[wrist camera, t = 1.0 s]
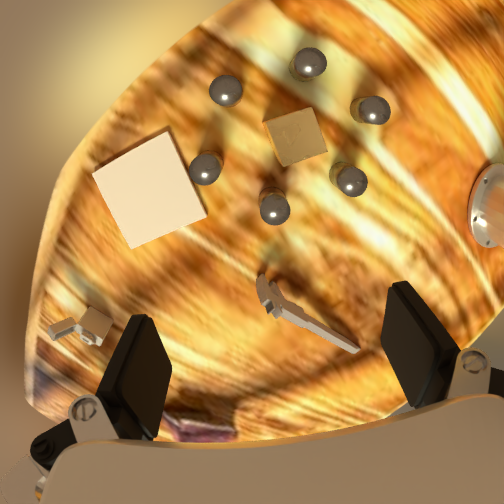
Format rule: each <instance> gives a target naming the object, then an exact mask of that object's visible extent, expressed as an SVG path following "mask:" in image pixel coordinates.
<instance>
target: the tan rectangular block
mask: <svg viewBox="0 0 504 504" xmlns="http://www.w3.org/2000/svg"><path fill="white" fill-rule="evenodd" d="M262 123H263V126H264V128H265V131H266V133H267V136H268V138H269V141H270V143H271V146H272V148H273V151H274V153H275V156H276V158H277V160H278V161H279V162H280V163H281V165H282V166H283V167H285V166H288V165H291V164H293V163H296V162H299V161H302V160H305V159H308V158H311V157H313V156H316V155H319V154H322V153H325V152H328V151H327V148H326V145H325V142H324V139H323V136H322V133H321V130H320V128H319V125H318V122H317V119H316V117H315V114H314V111H313V109H312V107H309V108H304V109H299V110H296V111H293V112H290V113H287V114H284V115H281V116H278V117H275V118H273V119H270V120H267V121H264V122H262Z"/></svg>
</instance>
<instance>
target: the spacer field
mask: <svg viewBox="0 0 504 504" xmlns="http://www.w3.org/2000/svg"><path fill="white" fill-rule="evenodd" d="M326 66H327V60H326V57H325V56H324V54H323V53H322V52H321V51H319V50H318V49H315V48H304V49H302V50H300V51H299V52H298V54H297V55H296V56H295V57H294V59H293V60H292V61H291V63H290V67H289V69H290V73H291V75H292V76H293V77H294V78H295V79H297V80H299V81H309V80H311V79H313V78H315V77H316V76H318V75H320V74H321V73H323V72H324V71H325V69H326ZM209 94H210V97H211V98H212V100H213V101H214V102H216V103H217V104H219V105H221V106H223V107H233V106H235V105H237V104H238V103H239V102H240V101H241V99H242V95H243V93H242V87H241V84H240V82H239V81H238V80H237V79H236V78H235V77H233V76H230V75H222V76H219V77H217V78H216V79H214V80H213V81H212V83H211V85H210V88H209ZM350 113H351V116H352V117H353V119H354V120H355V121H357V122H359V123H365V124H377V125H381V124H384V123H386V122H387V121H388V119H389V118H390V113H391V110H390V106H389V104H388V102H387V101H386V100H385V99H384V98H382V97H379V96H371V97H364V98H358V99H355V100H354V101H353V102H352V103H351V106H350ZM222 169H223V159H222V157H221V156H220V154H218V153H217V152H215V151H205V152H203V153H202V154H200V155H199V156H197V157H196V158H195V159H194V160H193V161H192V162H191V164H190V167H189V174H190V177H191V178H192V180H193V181H194V182H195V183H197V184H199V185H210V184H212V183H214V182H215V181H216V180H217V178H218V177H219V175H220V173H221V171H222ZM329 177H330V181H331V182H332V184H333V185H335V186H336V187H337V188H338V189H340V190H341V191H342V192H343V193H345V194H346V195H347V196H350V197H357V196H360V195H361V194H363V193H364V191H365V190H366V188H367V184H368V181H367V177H366V175H365V173H364V172H363V171H361V170H360V169H358V168H356V167H354V166H352V165H349V164H347V163H345V162H339V163H336V164H335V165H333V166H332V168H331V169H330V173H329ZM259 207H260V214H261V217H262V219H263V220H264V221H265V222H266V223H268V224H270V225H280V224H282V223H284V222H285V221H286V220H287V219H288V218H289V215H290V206H289V204H288V202H287V200H286V197H285V195H284V193H283V192H282V191H281V190H280V189H278V188H276V187H268V188H266V189H264V190H263V191H262V192H261V193H260V195H259Z"/></svg>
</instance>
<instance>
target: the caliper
mask: <svg viewBox="0 0 504 504" xmlns="http://www.w3.org/2000/svg"><path fill="white" fill-rule="evenodd" d="M256 287H257V294H258V296H259V299H260V302H261V305H263V306H265V307H266V310H267V313H268V314H270V313H271V312H272V314H273V316H274V317H275V318H276V319H277V318H278V317H279V316H281V317H283V318H285V319H287V320H289V321H290V322H292V323H294V324H296V325H298V326H300V327H301V328H303V327H305V328H307V329H308V330H310V331H312V332H314V333H316V334H317V335H319V336H321V337H323V338H325V339H326V340H328V341H330V342H332V343H334V344H335V345H337V346H339V347H341V348H343V349H345V350H347V351H348V352H350V353H352V354H354V353H356V352H358V351H359V350H360V348H359V347H358V346H356V345H355V344H354V343H353V342H351V341H350V340H349V339H347V338H345V337H344V336H342V335H340V334H339V333H337V332H335V331H334V330H332V329H330V328H329V327H327V326H325V325H324V324H322V323H320V322H319V321H317V320H315V319H314V318H312V317H311V316H309V315H307V314H306V313H304V311H303V309H302V308H301V307H299V306H297V305H296V304H295V303H293V302H290V301H287V300H286V299H285V298H284V296H283V295H282V293H281V291H280V290H279V288H278V286H277V284H276V283H275V282H274V281H272V282H270V283H269V284H268V282H267V280H266V277H265V274H261V275H260V276H259V277H258V278H257V279H256Z"/></svg>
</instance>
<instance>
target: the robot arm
mask: <svg viewBox="0 0 504 504" xmlns="http://www.w3.org/2000/svg"><path fill="white" fill-rule="evenodd" d="M468 225H469V229H470V232H471V235H472V236H473V238H474V240H475V241H476V242H477V243H479V244H480V245H482V246H484V247H487V248H492V247H495V246H497V245H500V246H501V247H502V248H504V164H501V163H495V164H492V165H490V166H488V167H487V168H485V169H484V171H483V172H482V173H481V174H480V175H479V177H478V178H477V180H476V182H475V184H474V186H473V189H472V192H471V195H470V199H469V204H468ZM381 345H382V347H383V349H384V351H385V353H386V355H387V357H388V359H389V361H390V364H391V366H392V368H393V370H394V372H395V374H396V376H397V378H398V380H399V383H400V385H401V387H402V389H403V391H404V393H405V396H406V398H407V400H408V402H409V404H410V406H411V407H413V406H414V407H415V410H412V411H409V412H406V413H402V414H399V415H395V416H392V417H389V418H385V419H381V420H377V421H374V422H370V423H366V424H362V425H357V426H353V427H348V428H344V429H339V430H333V431H328V432H323V433H317V434H311V435H304V436H297V437H289V438H281V439H272V440H261V441H247V442H226V443H183V442H159V441H153V438H156V437H157V435H158V431H159V426H160V421H161V417H162V412H163V408H164V403H165V399H166V395H167V390H168V386H169V382H170V378H171V374H172V365H171V362H170V360H169V358H168V355H167V353H166V351H165V348H164V346H163V344H162V341H161V339H160V337H159V334H158V332H157V329H156V327H155V324H154V322H153V320H152V318H151V317H148V316H147V315H146V314H138V315H132V316H131V318H130V320H129V322H128V324H127V326H126V328H125V330H124V332H123V334H122V336H121V338H120V340H119V343H118V345H117V347H116V349H115V351H114V353H113V355H112V358H111V360H110V362H109V364H108V366H107V369H106V371H105V373H104V375H103V378H102V380H101V382H100V385H99V387H98V389H97V392H96V394H95V396H94V395H90V394H88V395H83V396H80V397H78V398H77V399H75V400H74V401H73V402H72V403H71V405H70V407H69V410H68V416H69V419H67V420H65V421H64V422H62V423H60V424H58V425H57V426H55V427H53V428H51V429H50V430H48V431H46V432H44V433H42V434H41V435H39V436H37V437H36V438H35V439H34V441H33V442H32V444H31V449H30V453H31V455H30V456H28V455H25V456H24V457H23V458H22V459H21V460H20V461H19V462H18V463H17V464H16V465H15V466H14V467H13V468H12V469H11V470H10V471H9V472H8V473H7V474H6V475H5V476H4V477H3V478H2V480H1V482H0V491H1V493H2V495H3V497H4V499H5V500H6V502H7V503H8V504H504V371H502V370H499V369H496V368H492V367H491V361H490V359H489V356H488V355H487V354H486V353H485V352H483V351H482V350H480V349H477V348H472V347H470V348H465V349H463V350H462V351H461V350H460V349H459V347H458V346H457V344H456V343H455V341H454V340H453V339H452V337H451V336H450V335H449V333H448V332H447V330H446V329H445V328H444V326H443V325H442V324H441V322H440V321H439V320H438V319H437V317H436V316H435V315H434V313H433V312H432V311H431V309H430V308H429V307H428V306H427V304H426V303H425V302H424V301H423V299H422V298H421V297H420V296H419V294H418V293H417V292H416V291H415V290H414V288H413V287H412V286H411V285H410V283H409V282H408V281H400V282H395V283H393V284H392V287H389V289H388V295H387V302H386V309H385V315H384V321H383V327H382V333H381Z"/></svg>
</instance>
